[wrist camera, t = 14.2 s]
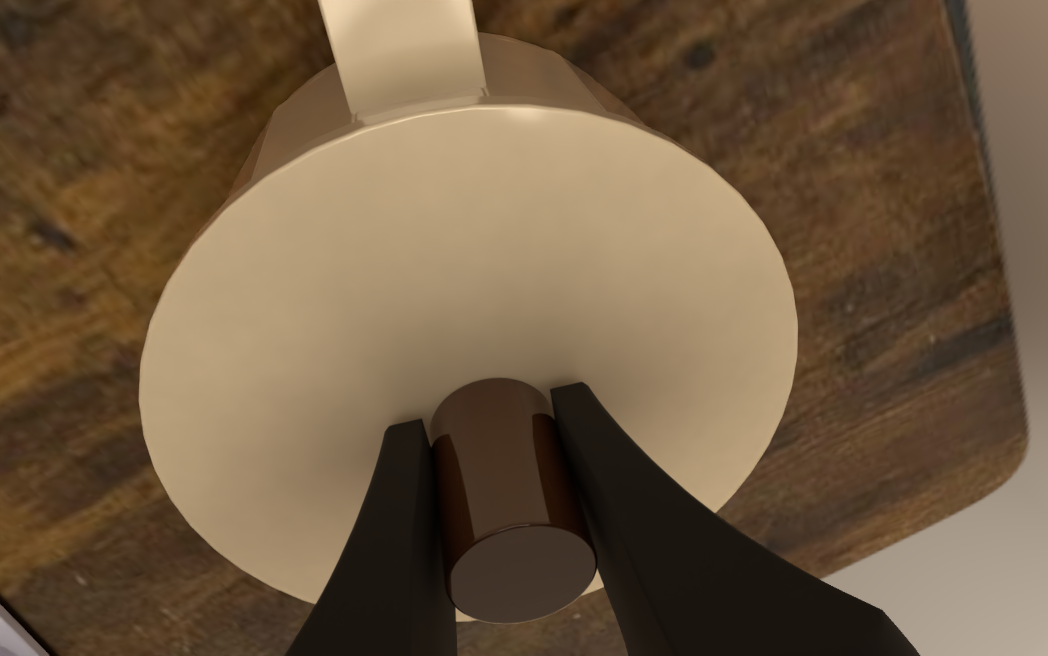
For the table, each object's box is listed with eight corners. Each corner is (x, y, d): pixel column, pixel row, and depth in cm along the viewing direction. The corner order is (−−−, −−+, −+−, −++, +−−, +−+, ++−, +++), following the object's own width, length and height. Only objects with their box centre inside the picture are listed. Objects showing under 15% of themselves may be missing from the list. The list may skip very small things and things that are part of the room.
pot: (339, 506, 24) (332, 659, 20) (92, -51, 15) (-30, 4, 10) (669, 429, 25) (734, 560, 20) (645, -154, 15) (761, -146, 11)
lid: (285, 632, 18) (263, 840, 14) (9, 172, 11) (-175, 350, 7) (760, 516, 19) (857, 686, 15) (794, 13, 12) (993, 101, 8)
